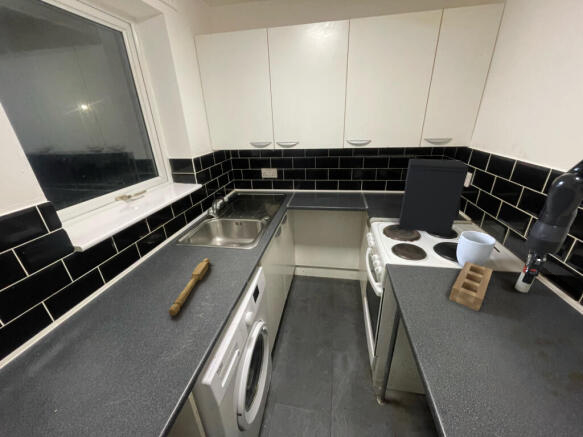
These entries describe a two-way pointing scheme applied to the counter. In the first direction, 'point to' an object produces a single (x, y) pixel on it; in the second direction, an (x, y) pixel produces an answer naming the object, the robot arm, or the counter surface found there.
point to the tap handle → (189, 286)
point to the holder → (471, 285)
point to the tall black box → (432, 195)
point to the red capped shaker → (521, 285)
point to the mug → (474, 247)
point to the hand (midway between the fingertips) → (526, 276)
